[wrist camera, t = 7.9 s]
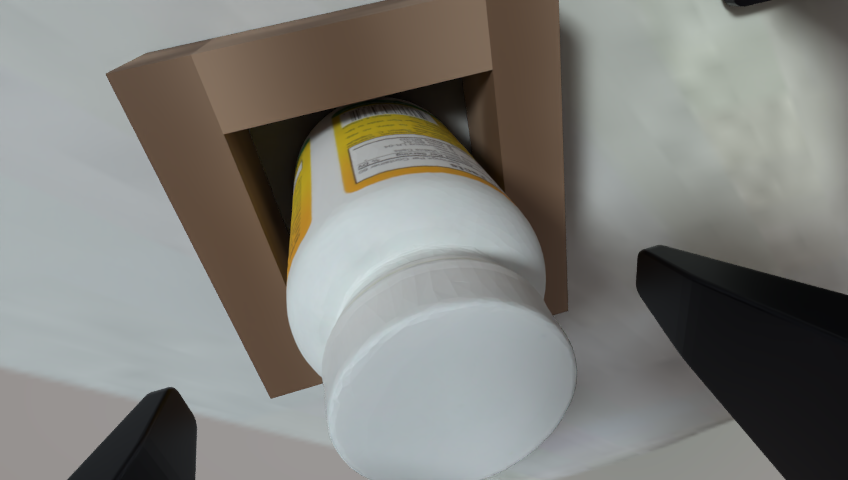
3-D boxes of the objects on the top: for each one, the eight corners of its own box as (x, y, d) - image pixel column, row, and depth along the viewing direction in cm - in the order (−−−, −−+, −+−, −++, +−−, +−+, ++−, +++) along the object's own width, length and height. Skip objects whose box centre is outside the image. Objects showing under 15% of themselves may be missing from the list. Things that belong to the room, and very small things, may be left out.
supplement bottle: (387, 54, 14) (511, 172, 6) (488, 181, 16) (672, 387, 8) (254, 176, 15) (192, 433, 6) (370, 278, 17) (431, 552, 9)
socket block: (509, -28, 13) (557, -27, 11) (531, 264, 19) (567, 310, 16) (146, 52, 12) (105, 73, 10) (275, 336, 18) (270, 398, 15)
